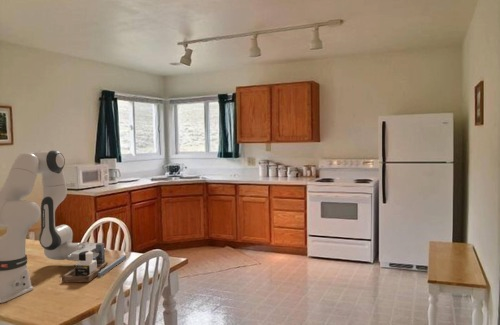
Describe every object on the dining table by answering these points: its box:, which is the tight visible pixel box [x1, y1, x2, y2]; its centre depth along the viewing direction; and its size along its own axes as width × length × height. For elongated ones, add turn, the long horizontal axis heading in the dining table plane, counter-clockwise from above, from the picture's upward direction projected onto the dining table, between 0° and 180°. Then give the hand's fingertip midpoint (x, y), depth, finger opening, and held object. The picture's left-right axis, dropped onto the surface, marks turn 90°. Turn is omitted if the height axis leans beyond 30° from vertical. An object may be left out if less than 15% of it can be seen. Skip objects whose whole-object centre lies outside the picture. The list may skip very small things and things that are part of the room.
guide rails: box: [68, 254, 127, 278], centre depth 200 cm, size 29×16×2 cm, turn 174°
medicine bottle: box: [74, 251, 97, 276], centre depth 184 cm, size 7×7×12 cm
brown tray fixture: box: [61, 242, 109, 283], centre depth 190 cm, size 26×12×11 cm, turn 174°
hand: (101, 252), depth 201 cm, fingers open, 7 cm apart
